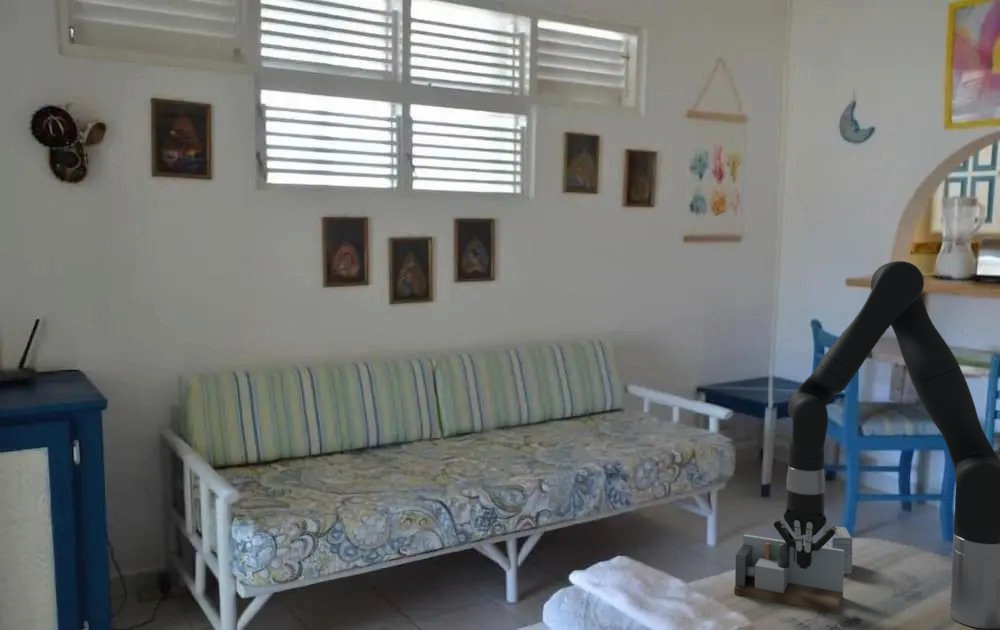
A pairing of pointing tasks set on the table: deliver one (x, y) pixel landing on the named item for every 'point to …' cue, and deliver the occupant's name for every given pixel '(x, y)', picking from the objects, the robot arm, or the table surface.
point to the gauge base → (795, 596)
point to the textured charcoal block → (743, 565)
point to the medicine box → (843, 546)
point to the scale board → (820, 574)
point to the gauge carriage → (772, 569)
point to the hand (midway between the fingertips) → (803, 567)
